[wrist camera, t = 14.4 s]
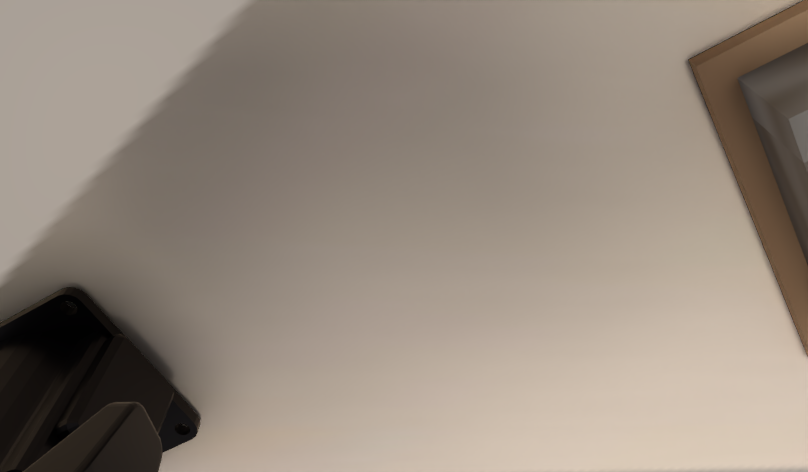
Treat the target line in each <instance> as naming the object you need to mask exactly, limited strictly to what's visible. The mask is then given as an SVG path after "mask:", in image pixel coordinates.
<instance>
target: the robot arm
mask: <svg viewBox="0 0 808 472" xmlns="http://www.w3.org/2000/svg"><path fill="white" fill-rule="evenodd" d="M66 301H69V302H72V303H73V304H75V305H76V307H77V308H73V307H70V306H69V305H67V303H66ZM180 423H183V424H186V425H187V426H188V427H185V426H182V425H180ZM199 426H200V419H199V417H198V415H197V414H196V413H195V412H194V411H193V410H192V409H191V408H190V407H189V405H188V404H187V403H186V402H185V401H184V400H183V399H182V398H181V397H180V396H179V395H178V393H177V392H176V391H175V390H174V389H173V387H172V386H171V385H170V384H169V383H168V382H167V381H166V380H165V379H164V378H163V376H162V375H161V374H160V373H159V372H158V371H157V370H156V369H155V368H154V367H153V366H152V364H151V363H150V362H149V361H148V360H147V359H146V358H145V357H144V356H143V355H142V354H141V352H140V351H139V350H138V349H137V348H136V347H135V346H134V345H133V344H132V343H131V342H130V340H129V339H128V338H126V337H125V336H124V335H123V333H122V332H121V331H120V330H119V329H118V328H117V327H116V326H115V325H114V324H113V323H112V321H111V320H110V319H109V318H108V317H107V316H106V315H105V314H104V313H103V312H102V311H101V309H100V308H99V307H98V306H97V305H96V304H95V303H94V302H93V301H92V300H91V299H90V297H89V296H88V295H87V294H86V293H84V292H83V291H82V290H80V289H77V288H75V287H67V288H64V289H61V290H60V291H58V292H56V293H54V294H52V295H50V296H49V297H47V298H45V299H43V300H41V301H40V302H38V303H36V304H34V305H32V306H31V307H29V308H27V309H25V310H23V311H21V312H20V313H18V314H16V315H14V316H12V317H11V318H9V319H7V320H5V321H3V322H1V323H0V472H158V470H159V466H160V463H161V458H162V453H163V452H165V451H167V450H169V449H171V448H174V447H176V446H178V445H180V444H182V443H184V442H187V441H189V440H191V439H192V438H194V437H195V436H196V434H197V432H198V429H199Z"/></svg>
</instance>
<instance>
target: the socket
mask: <svg viewBox="0 0 808 472" xmlns="http://www.w3.org/2000/svg"><path fill="white" fill-rule="evenodd" d="M689 62H690V65H691V67H692V70H693V72H694V75H695V77H696V80H697V82H698V85H699V87H700V90H701V92H702V95H703V97H704V100H705V102H706V105H707V107H708V110H709V112H710V115H711V117H712V120H713V122H714V125H715V127H716V129H717V132H718V134H719V137H720V139H721V142H722V144H723V147H724V149H725V152H726V154H727V157H728V159H729V162H730V164H731V167H732V169H733V172H734V174H735V177H736V179H737V182H738V184H739V187H740V189H741V192H742V194H743V197H744V199H745V201H746V204H747V206H748V209H749V211H750V214H751V216H752V219H753V221H754V224H755V226H756V229H757V231H758V234H759V236H760V239H761V241H762V244H763V246H764V249H765V251H766V254H767V256H768V259H769V261H770V264H771V266H772V268H773V271H774V273H775V276H776V278H777V281H778V283H779V286H780V288H781V291H782V293H783V296H784V298H785V301H786V303H787V306H788V308H789V311H790V313H791V316H792V318H793V321H794V323H795V326H796V328H797V331H798V333H799V336H800V338H801V340H802V343H803V345H804V348H805V350H806V353H807V355H808V0H804V1H802V2H800V3H798V4H796V5H794V6H792V7H791V8H789V9H787V10H785V11H783V12H781V13H779V14H777V15H775V16H773V17H771V18H769V19H767V20H765V21H763V22H761V23H759V24H757V25H755V26H753V27H751V28H750V29H748V30H746V31H744V32H742V33H740V34H738V35H736V36H734V37H732V38H730V39H728V40H726V41H724V42H722V43H720V44H718V45H716V46H714V47H712V48H710V49H709V50H707V51H705V52H703V53H701V54H699V55H697V56H695V57H693V58H691V59H689Z"/></svg>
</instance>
